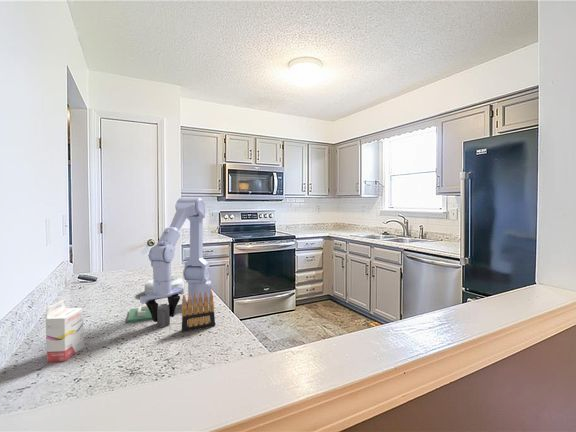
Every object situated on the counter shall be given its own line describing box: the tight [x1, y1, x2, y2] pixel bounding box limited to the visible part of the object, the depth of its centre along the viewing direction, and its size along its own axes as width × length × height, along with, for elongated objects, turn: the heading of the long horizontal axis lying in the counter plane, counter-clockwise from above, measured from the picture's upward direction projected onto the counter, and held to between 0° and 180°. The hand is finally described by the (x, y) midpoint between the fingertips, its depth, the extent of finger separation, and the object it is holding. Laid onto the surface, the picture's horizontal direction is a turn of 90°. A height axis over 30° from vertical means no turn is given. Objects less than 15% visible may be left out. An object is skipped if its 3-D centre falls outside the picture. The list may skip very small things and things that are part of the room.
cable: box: [144, 275, 185, 295], centre depth 143 cm, size 18×18×6 cm
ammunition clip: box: [181, 290, 216, 333], centre depth 102 cm, size 11×2×12 cm, turn 115°
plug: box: [156, 304, 171, 328], centre depth 105 cm, size 4×5×6 cm
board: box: [126, 303, 168, 324], centre depth 115 cm, size 14×12×2 cm
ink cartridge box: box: [45, 298, 84, 363], centre depth 85 cm, size 9×5×15 cm, turn 5°
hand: (163, 318), depth 105 cm, fingers closed on plug, 5 cm apart
